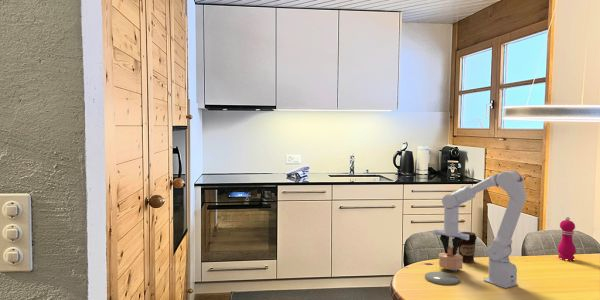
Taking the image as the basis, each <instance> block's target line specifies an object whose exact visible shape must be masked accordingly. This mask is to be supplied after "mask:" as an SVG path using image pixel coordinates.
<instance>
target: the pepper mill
mask: <svg viewBox="0 0 600 300" xmlns="http://www.w3.org/2000/svg"><path fill="white" fill-rule="evenodd" d="M564 219H565V220H562V221H561V222H560V223H559V228H560V233H561V239H560V242H559V244H558V246H557V251H558V253H559V254H558V259H559V258H562V259H568V260H573V259H576V258H575V257H576V256H575V255H576V253H577V249H576V246H575V244H574V242H573V235H574V234H575V232H574V230H575V229H576V225H575V222H574V221H572V220H570V219H571V218H570V217H569V216H566V217H565V218H564Z"/></svg>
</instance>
